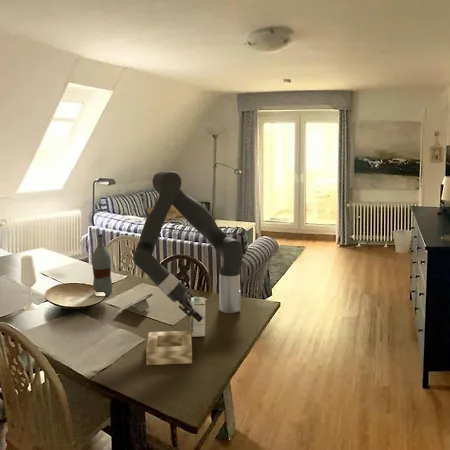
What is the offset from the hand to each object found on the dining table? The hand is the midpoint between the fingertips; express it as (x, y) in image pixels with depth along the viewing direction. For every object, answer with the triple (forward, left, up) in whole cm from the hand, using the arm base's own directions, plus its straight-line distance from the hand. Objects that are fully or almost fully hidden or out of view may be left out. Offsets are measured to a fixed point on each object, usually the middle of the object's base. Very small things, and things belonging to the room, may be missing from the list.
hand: (202, 316), depth 194 cm
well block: (+13, +15, -8) cm, 21 cm away
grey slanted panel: (+29, -27, -8) cm, 40 cm away
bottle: (+47, -50, -8) cm, 69 cm away
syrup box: (+2, 0, -8) cm, 8 cm away
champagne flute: (+77, -35, -8) cm, 85 cm away
